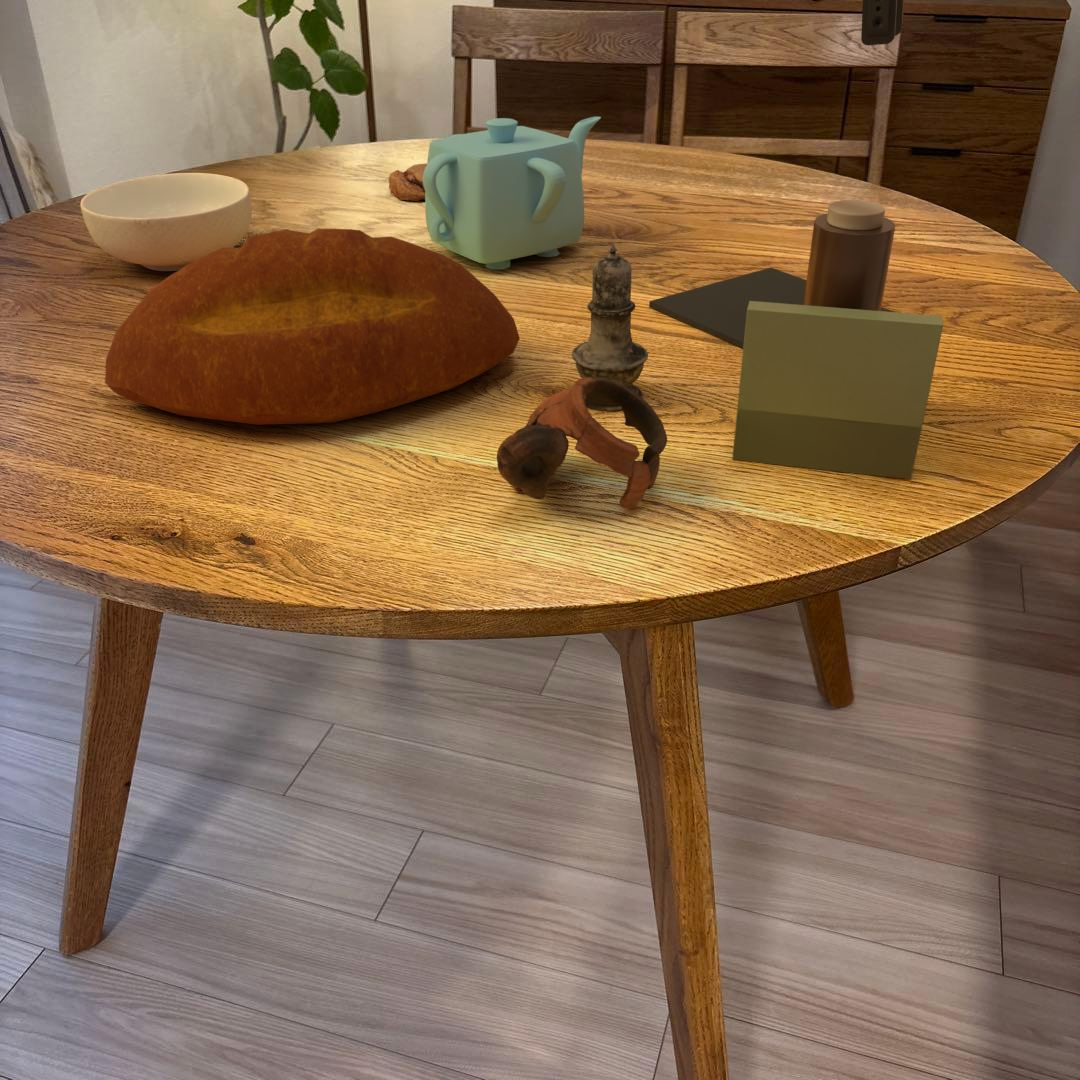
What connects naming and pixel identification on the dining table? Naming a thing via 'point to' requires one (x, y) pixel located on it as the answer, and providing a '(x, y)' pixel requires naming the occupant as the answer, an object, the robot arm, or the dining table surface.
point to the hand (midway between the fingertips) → (882, 40)
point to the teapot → (506, 191)
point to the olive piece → (834, 387)
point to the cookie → (408, 183)
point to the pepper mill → (849, 256)
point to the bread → (308, 330)
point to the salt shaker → (611, 329)
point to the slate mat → (732, 302)
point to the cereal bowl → (168, 218)
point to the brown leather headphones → (583, 439)
